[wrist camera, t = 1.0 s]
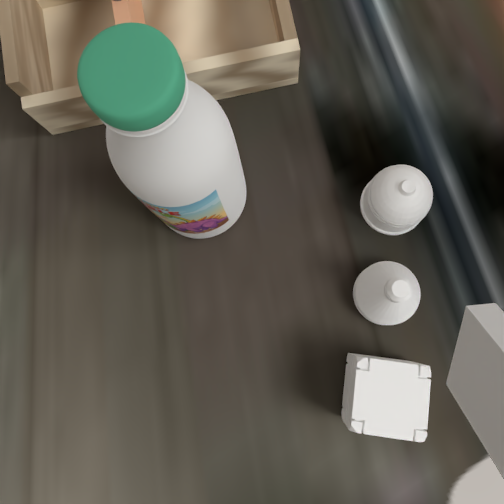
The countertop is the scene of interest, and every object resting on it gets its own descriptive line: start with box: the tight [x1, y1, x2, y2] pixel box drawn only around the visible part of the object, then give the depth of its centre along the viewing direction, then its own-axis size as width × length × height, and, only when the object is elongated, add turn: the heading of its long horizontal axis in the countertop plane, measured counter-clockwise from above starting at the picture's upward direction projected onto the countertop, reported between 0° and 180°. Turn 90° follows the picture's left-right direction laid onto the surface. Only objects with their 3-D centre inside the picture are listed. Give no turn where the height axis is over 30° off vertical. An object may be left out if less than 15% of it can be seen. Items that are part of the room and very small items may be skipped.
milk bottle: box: [77, 22, 246, 239], centre depth 30 cm, size 8×8×20 cm
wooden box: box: [0, 0, 300, 135], centre depth 39 cm, size 22×13×7 cm, turn 101°
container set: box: [341, 165, 433, 442], centre depth 35 cm, size 20×5×6 cm, turn 173°
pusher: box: [111, 0, 145, 25], centre depth 37 cm, size 2×10×8 cm, turn 11°
